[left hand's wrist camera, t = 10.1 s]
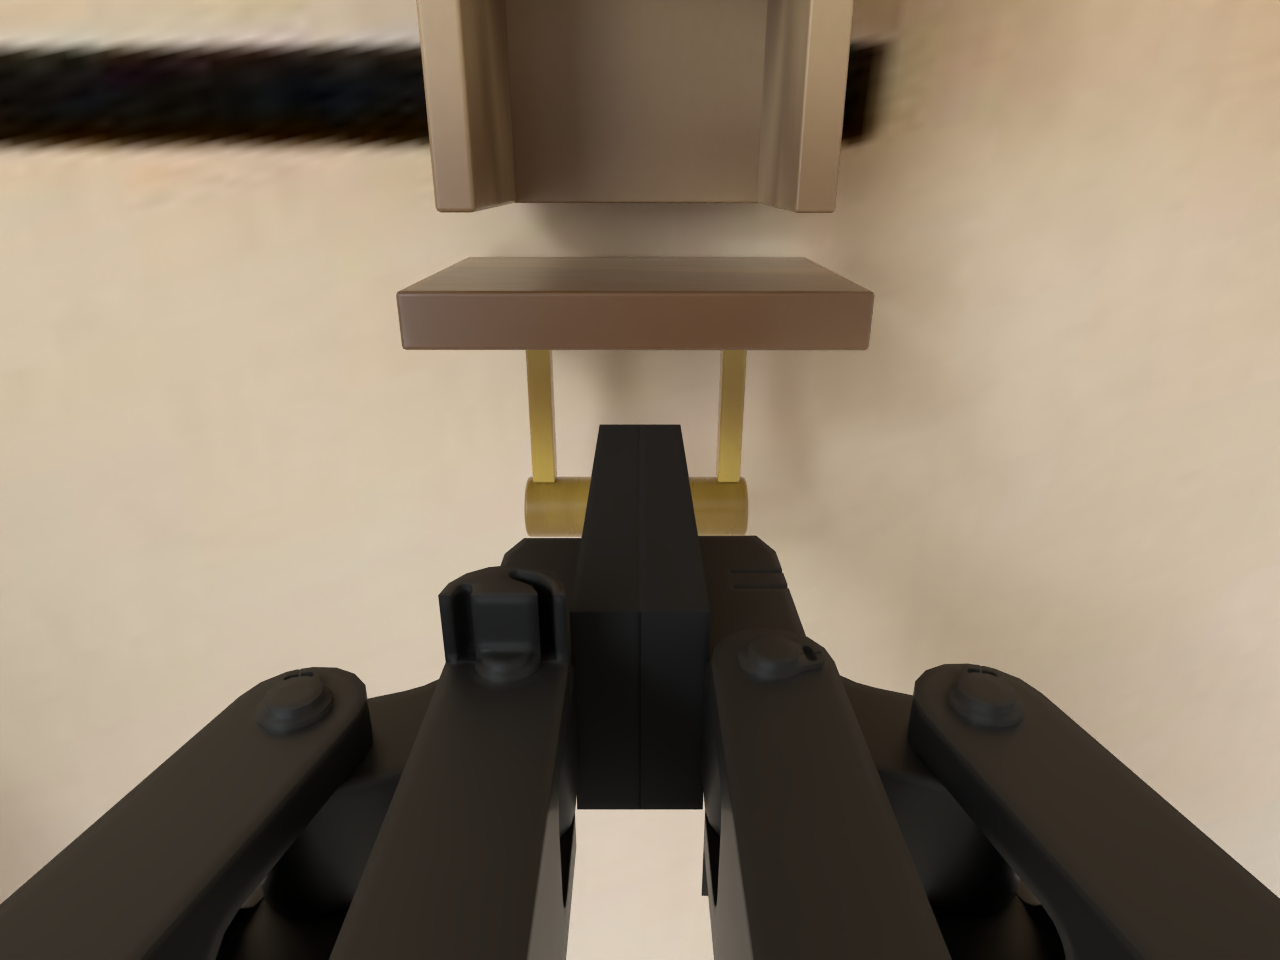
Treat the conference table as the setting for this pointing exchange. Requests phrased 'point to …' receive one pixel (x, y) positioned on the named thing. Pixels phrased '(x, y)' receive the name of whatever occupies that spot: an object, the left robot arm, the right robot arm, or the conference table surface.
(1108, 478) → the conference table surface
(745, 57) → the drawer
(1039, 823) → the left robot arm
